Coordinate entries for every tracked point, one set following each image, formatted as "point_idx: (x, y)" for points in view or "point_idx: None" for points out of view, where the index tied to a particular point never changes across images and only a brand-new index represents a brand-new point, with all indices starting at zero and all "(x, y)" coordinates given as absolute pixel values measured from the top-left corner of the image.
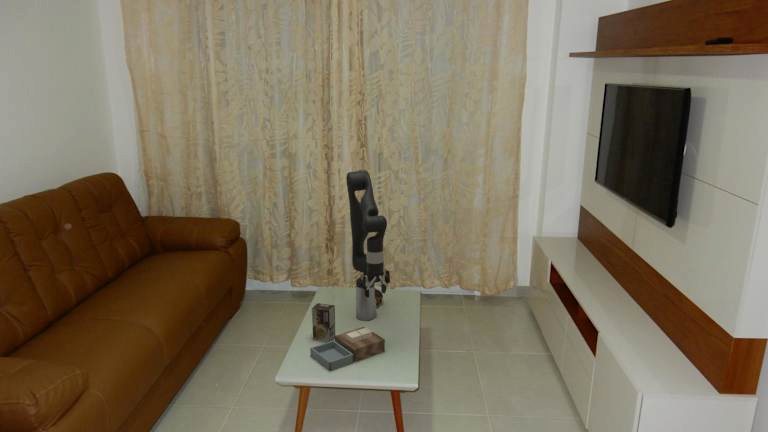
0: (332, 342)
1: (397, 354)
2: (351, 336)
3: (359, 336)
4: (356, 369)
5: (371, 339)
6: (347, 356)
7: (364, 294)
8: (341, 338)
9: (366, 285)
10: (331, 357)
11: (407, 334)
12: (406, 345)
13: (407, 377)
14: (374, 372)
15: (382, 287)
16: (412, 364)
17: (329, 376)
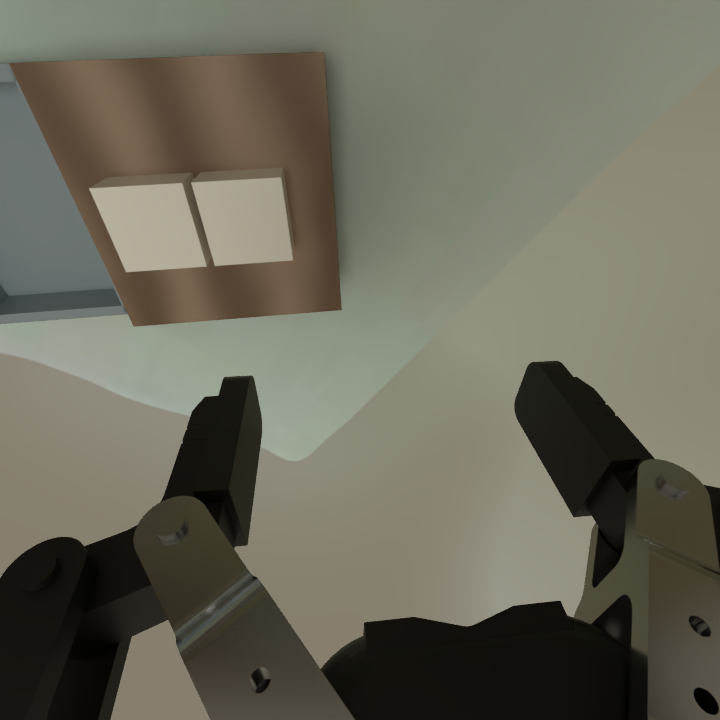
0: (11, 81)
1: (371, 321)
2: (124, 251)
3: (188, 264)
4: (149, 339)
5: (274, 274)
6: (96, 315)
7: (192, 412)
8: (69, 148)
9: (204, 576)
10: (21, 198)
11: (558, 178)
12: (458, 276)
13: (305, 443)
14: (215, 384)
15: (567, 446)
16: (369, 397)
17: (7, 334)
